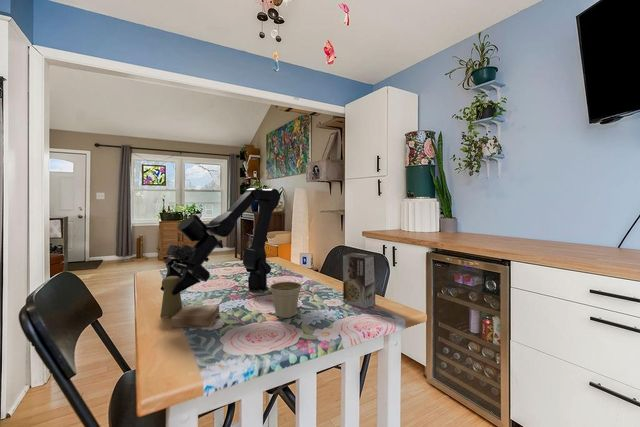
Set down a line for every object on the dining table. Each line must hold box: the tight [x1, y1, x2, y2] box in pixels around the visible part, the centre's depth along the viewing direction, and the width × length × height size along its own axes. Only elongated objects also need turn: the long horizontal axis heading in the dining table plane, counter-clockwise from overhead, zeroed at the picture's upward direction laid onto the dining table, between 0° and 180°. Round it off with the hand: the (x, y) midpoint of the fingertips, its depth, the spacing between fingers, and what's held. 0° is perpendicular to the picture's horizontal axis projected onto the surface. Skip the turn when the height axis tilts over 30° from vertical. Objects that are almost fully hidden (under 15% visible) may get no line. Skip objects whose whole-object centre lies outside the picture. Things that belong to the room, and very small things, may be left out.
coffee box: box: [342, 252, 376, 309], centre depth 100 cm, size 9×6×16 cm
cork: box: [160, 276, 183, 318], centre depth 90 cm, size 6×6×11 cm
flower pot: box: [269, 281, 302, 319], centre depth 90 cm, size 9×9×9 cm
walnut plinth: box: [170, 304, 220, 329], centre depth 85 cm, size 10×10×3 cm
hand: (167, 292), depth 89 cm, fingers open, 7 cm apart
